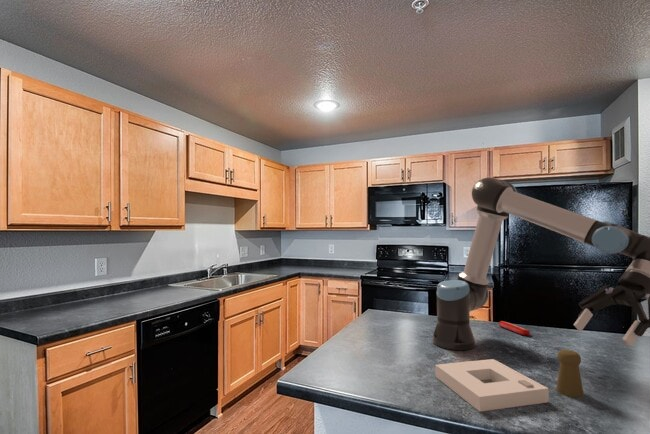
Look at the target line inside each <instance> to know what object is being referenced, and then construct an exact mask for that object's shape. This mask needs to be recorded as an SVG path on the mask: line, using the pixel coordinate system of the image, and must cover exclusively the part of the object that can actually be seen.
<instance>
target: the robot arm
mask: <svg viewBox="0 0 650 434" xmlns="http://www.w3.org/2000/svg"><path fill="white" fill-rule="evenodd" d="M471 199H472V200H473V202H474V204H475V205H477V206H476V212H477V214H478V219H477V222H476V225H475V229H474V232H473V236H472V240H471V244H470V247H469V251H468V254H467V258H466V261H465V266H464V269H463V271H461V272H459V273H458V276H457V278H456V279H449V280H443V281H441V282H439V283H438V284H437V286H436V315H437V316H436V317H437V318H436V319H437V321H436V325H435V327H434V331H433V334H432V343H433V344H434V345H435V346H438V347H439V348H442V349H446V350H447V349H448V350H452V351H453V350H454V351H468V350H473V349H474V348H475V347H476V339H475V337H474V334H473V330H472V327H471V322H470V312H473V311H475V310H478V309H481V308H482V307H483V306H485V305H486V303H487V302H488V300H489V296H490V294H489V290H488V287H489V283H490V282H489V280H488V279H487V275H488V272H489V268H490V264H491V261H492V258H493V256H494V255H493V254H494V251H495V247H496V245H497V241H498V237H499V234H500V230H501V227H502V224H503V221H504V220H506V219H508V218H509V215H512V216H514V217H517V218H519V219H521V220H524V221H528V223H533V224H534V225H537V226H539V227H543V228H545V229H548V230H550V231H553V232H555V233H558V234H560V235H563V236H566V237H569V238H571V239H573V240H576V241H579V242H580V243H583V244H586V245H588V246H591V247H593V248H595V249H596V250H598V251H599V252H603V253H604V254H605V253H606V254H610V255H611V254H617V253H619V254H622V255H624V256H627V257H629V258H630V259H631V258H632V259H633V260H632V261H631V263H630V264H629V266H628V267H627V268H626V269H625V271H624V272H623V273H622V275H621V276H620V278H619V279H618V283H617V286H615V287H610V286H609V285H608V284H605V285H603V286H602V287H601V289H599V290H597V291H596V292H594V293H593V294H591V295H590V296H587V298H584V299H583V300H582V301H580V302H579V303H578V306H579V307H580V308H581V309H582V310H581V311H580V312H579V314H578V315H577V317H578V318H577V319H576V321H575V322H574V323H573V326H574V327H575V328H576V329H577V330H578V332H582V331H583V330H584V328H585V327H586V325H588V323H589V321H590V320H591V319H592V317H593V316H594V314H593V313H595V312H597V311H600V310H602V309H605V308H607V307H609V306H612V305H613V306H616V305H625V306H627V307H633V308H634V310H635V313H636V315H637V317H638V318H637V319H638V320H634V321H633V323H632V324H631V326H630V327H629V328H628V330H627V331H626V333H625V334H624V336H623V337H622V341H623V342H624V343H625V344H626V346H627V347H630V348H632V347H633V345H634V344H635V343H636V341H637V339H638V338H639V337H642V336H643V335H644V334H645V333H646V331H647V330H648V329H649V328H650V236H648V235H644V234H640V233H638V232H636V231H633V230H631V229H629V228H626V227H623V226H621V225H619V224H616V223H613V222H609V221H600V220H597V219H594V218H591V217H588V216H586V215H583V214H580V213H577V212H574V211H572V210H570V209H569V210H568V209H565V208H562V207H560V206H557V205H553V204H552V203H548V202H545V201H543V200H539V199H536V198H534V197H531V196H528V195H525V194H522V193H519V192H518V190H517V189H516V187H515V185H514V184H512V183H511V182H510V181H508V180H504V179H499V178H495V177H484V178H482V179H479V180H478V181H477V182H475V184H474V185H473V187H472V189H471ZM613 298H614V299H613ZM645 301H647V309H648V312H647V313H648V317H647V315H646V312H645V310H644V307H643V305H642V303H643V302H645Z"/></svg>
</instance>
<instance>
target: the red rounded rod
mask: <svg viewBox="0 0 650 434" xmlns="http://www.w3.org/2000/svg"><path fill="white" fill-rule="evenodd" d="M498 325H499V326H500V327H501V328H504V329H506V330H509V331H511V332H514V333H517V334H519V335H522V336H527V337H528V336H531V334H532V333H531V332H530V330H528V329H527V328H524V327H521V326H519V325H515V324H514V323H511V322H507V321H503V320H500V321H499V322H498Z"/></svg>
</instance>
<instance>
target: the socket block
mask: <svg viewBox="0 0 650 434" xmlns="http://www.w3.org/2000/svg"><path fill="white" fill-rule="evenodd" d="M434 365H435V373H434V374H435V376H434V377H435V378H437V379H438V380H439V381H440V382H442V383H443V384H444V385H446V386H447V387H448V388H449V389H450V390H452V391H453V392H455V394H457V395H458V396H459V397H461V398H462V399H463V400H464V401H466V402H467V403H468V404H469V405H471V406H472V407H473V408H475V409H476V410H477V411H478V412H479V413H480V412H486V411H495V410H502V409H511V408H515V407H524V406H530V405H531V406H532V405H539V404H546V403H549V400H550V399H549V396H550V395H549V388H548V387H547V386H545V385H543V384H541V383H539V382H538V381H536V380H533V379H532V378H529V377H528V376H526V375H524V374H522V373H520V372H518V371H516V370H515V369H513V368H511V367H510V366H507V365H506V364H504V363H501V362H500V361H498V360H497V359H495V358H490V359H481V360H471V361H468V360H467V361H460V362H459V361H457V362H450V363H441V364H434Z"/></svg>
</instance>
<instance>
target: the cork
mask: <svg viewBox="0 0 650 434" xmlns="http://www.w3.org/2000/svg"><path fill="white" fill-rule="evenodd" d="M557 359H558V361H559V370H558V375H557V383H556V391H557V393H559V394H561V395H564V396H566V397H568V398H569V397H570V398H572V399H573V398H575V399H581V398H584V395H585V394H584V390H583V389H584V388H583V383H582V378H581V372H580V365H581V363H582V357H581V355H580V354H579V353H578V352H576V351H574V350H570V349H560V350H559V351H558V352H557Z"/></svg>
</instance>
